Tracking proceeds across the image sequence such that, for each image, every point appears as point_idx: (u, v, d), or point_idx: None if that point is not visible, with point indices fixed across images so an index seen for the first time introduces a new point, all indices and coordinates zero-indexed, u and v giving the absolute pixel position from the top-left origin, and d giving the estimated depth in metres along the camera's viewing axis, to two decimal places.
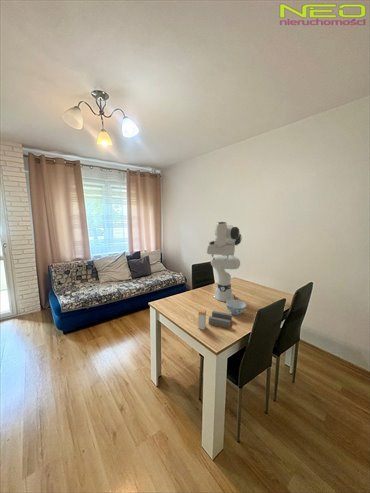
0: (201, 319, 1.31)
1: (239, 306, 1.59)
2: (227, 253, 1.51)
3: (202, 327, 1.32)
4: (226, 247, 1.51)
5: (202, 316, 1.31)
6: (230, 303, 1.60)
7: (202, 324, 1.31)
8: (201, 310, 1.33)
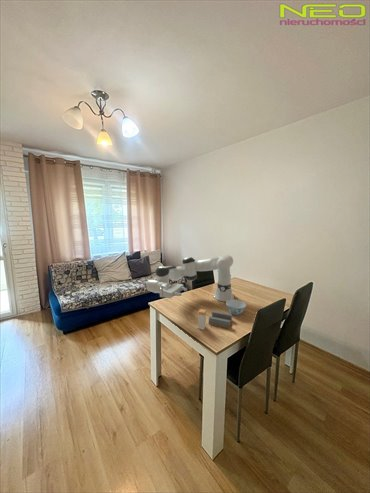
0: (201, 319, 1.31)
1: (239, 306, 1.59)
2: (179, 285, 1.44)
3: (202, 327, 1.32)
4: (173, 285, 1.45)
5: (202, 316, 1.31)
6: (230, 303, 1.60)
7: (202, 324, 1.31)
8: (201, 310, 1.33)
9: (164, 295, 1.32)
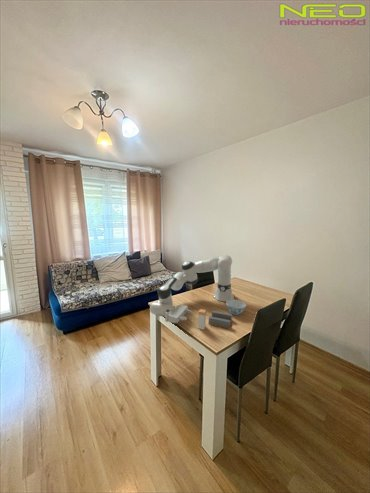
0: (201, 319, 1.31)
1: (239, 306, 1.59)
2: (184, 307, 1.43)
3: (202, 327, 1.32)
4: (178, 307, 1.44)
5: (202, 316, 1.31)
6: (230, 303, 1.60)
7: (202, 324, 1.31)
8: (201, 310, 1.33)
9: (169, 319, 1.31)
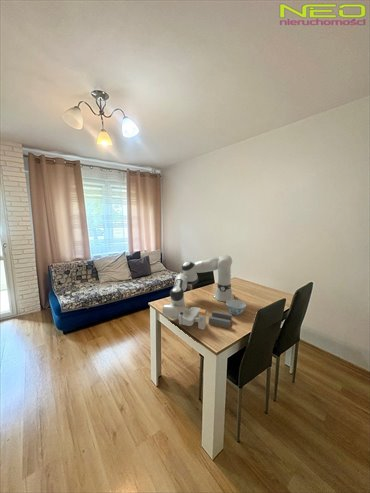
0: None
1: (239, 306, 1.59)
2: (197, 310, 1.40)
3: (202, 327, 1.32)
4: (191, 309, 1.41)
5: (202, 316, 1.31)
6: (230, 303, 1.60)
7: (202, 324, 1.31)
8: (201, 310, 1.33)
9: (183, 322, 1.28)
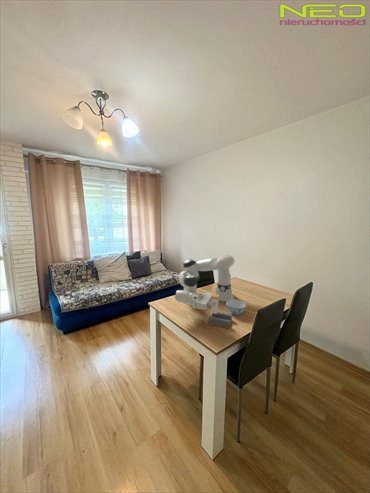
0: None
1: (239, 306, 1.59)
2: (209, 295, 1.43)
3: (215, 311, 1.35)
4: (203, 294, 1.44)
5: (215, 300, 1.34)
6: (230, 303, 1.60)
7: (215, 309, 1.34)
8: (214, 295, 1.36)
9: (197, 306, 1.31)
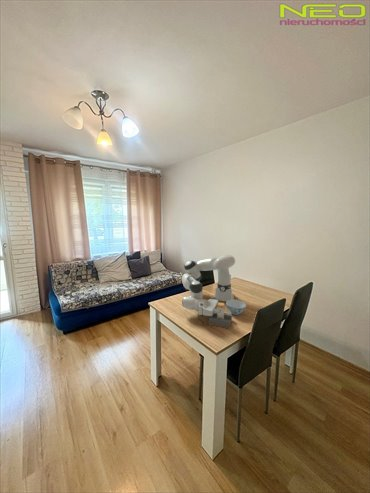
0: None
1: (239, 306, 1.59)
2: (215, 301, 1.47)
3: None
4: (209, 301, 1.48)
5: (221, 309, 1.38)
6: (230, 303, 1.60)
7: (221, 317, 1.39)
8: (220, 303, 1.40)
9: (204, 313, 1.35)
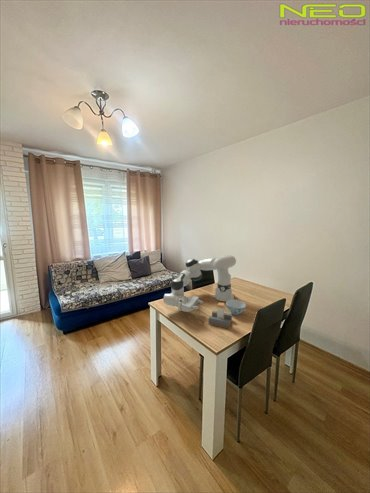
0: (220, 312, 1.38)
1: (239, 306, 1.59)
2: (195, 298, 1.53)
3: None
4: (189, 298, 1.53)
5: (221, 309, 1.38)
6: (230, 303, 1.60)
7: (221, 317, 1.39)
8: (220, 303, 1.40)
9: (183, 309, 1.40)
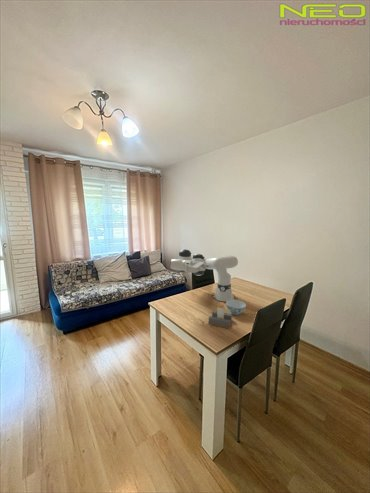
0: (220, 312, 1.38)
1: (239, 306, 1.59)
2: (201, 263, 1.56)
3: None
4: (196, 262, 1.56)
5: (221, 309, 1.38)
6: (230, 303, 1.60)
7: (221, 317, 1.39)
8: (220, 303, 1.40)
9: (189, 270, 1.43)
